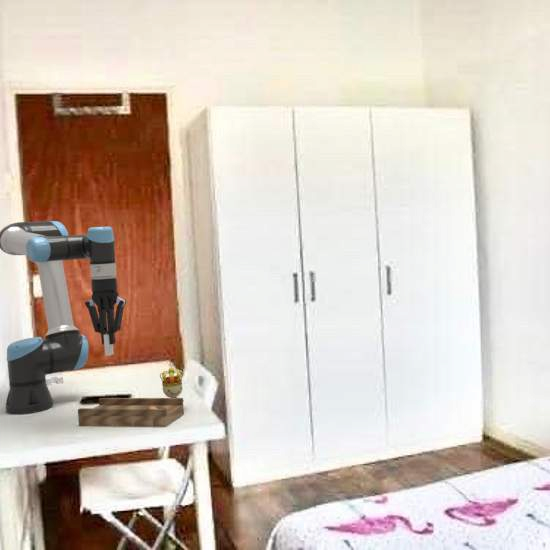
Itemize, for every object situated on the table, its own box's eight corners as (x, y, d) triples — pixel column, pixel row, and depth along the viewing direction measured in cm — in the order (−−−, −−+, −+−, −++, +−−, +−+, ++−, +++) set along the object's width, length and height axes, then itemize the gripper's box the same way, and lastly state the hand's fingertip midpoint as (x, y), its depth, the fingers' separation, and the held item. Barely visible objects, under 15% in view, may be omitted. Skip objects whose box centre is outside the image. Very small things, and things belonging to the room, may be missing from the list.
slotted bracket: (63, 383, 274) (62, 364, 274) (45, 386, 271) (44, 366, 271) (59, 378, 286) (58, 359, 285) (42, 380, 283) (40, 361, 283)
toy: (166, 414, 214) (163, 366, 213) (159, 409, 221) (156, 363, 220) (188, 410, 217) (185, 363, 217) (180, 405, 224) (177, 360, 223)
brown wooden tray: (78, 425, 206) (77, 409, 206) (101, 413, 220) (100, 398, 220) (165, 426, 200) (164, 409, 199) (183, 413, 213) (182, 397, 213)
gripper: (78, 279, 207) (83, 357, 208) (117, 278, 204) (123, 357, 205) (90, 277, 214) (96, 353, 216) (129, 276, 211) (134, 352, 212)
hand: (109, 354), depth 210 cm, fingers closed
